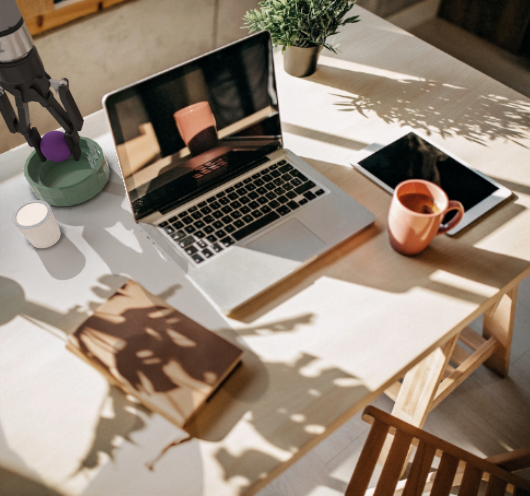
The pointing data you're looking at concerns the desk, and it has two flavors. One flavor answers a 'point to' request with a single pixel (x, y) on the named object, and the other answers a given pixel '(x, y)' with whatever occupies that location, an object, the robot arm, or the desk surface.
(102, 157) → the bowl
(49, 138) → the ball
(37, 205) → the white cylinder
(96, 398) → the desk surface
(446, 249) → the desk surface
